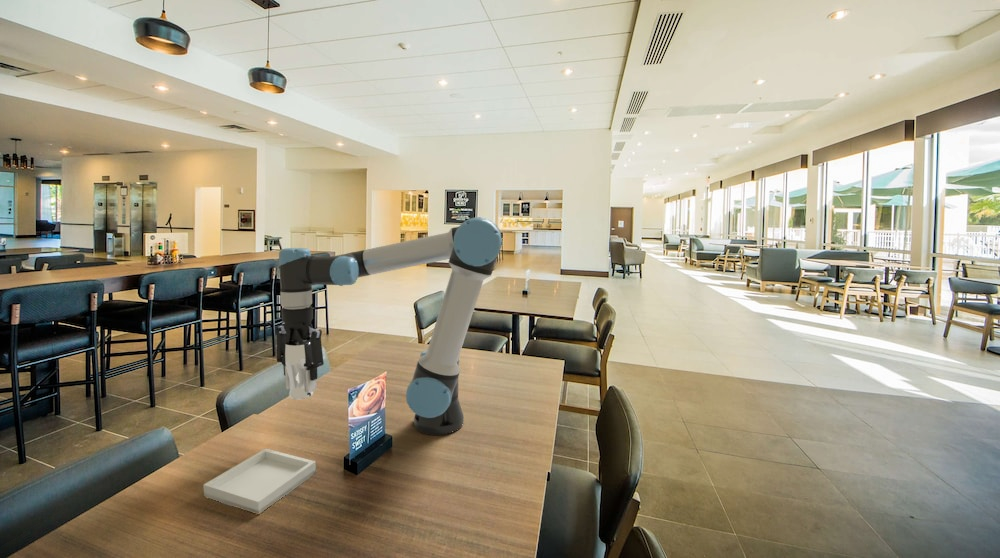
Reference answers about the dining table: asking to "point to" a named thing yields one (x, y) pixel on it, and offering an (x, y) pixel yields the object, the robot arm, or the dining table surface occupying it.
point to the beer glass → (297, 370)
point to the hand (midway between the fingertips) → (301, 389)
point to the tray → (260, 480)
